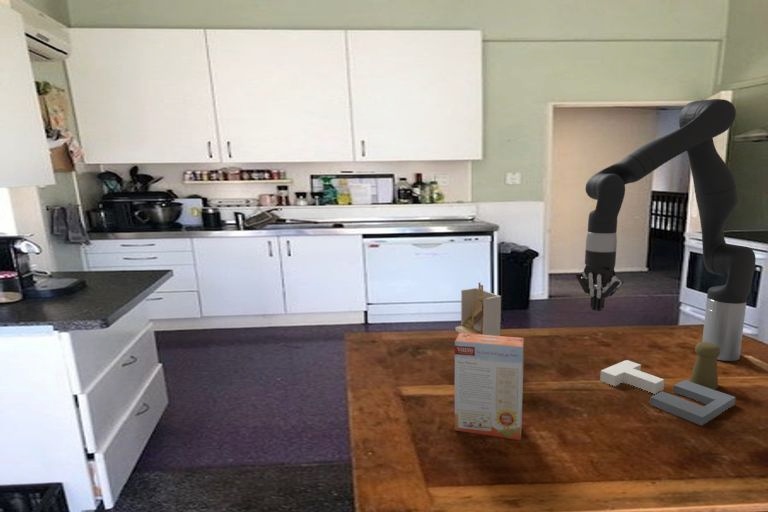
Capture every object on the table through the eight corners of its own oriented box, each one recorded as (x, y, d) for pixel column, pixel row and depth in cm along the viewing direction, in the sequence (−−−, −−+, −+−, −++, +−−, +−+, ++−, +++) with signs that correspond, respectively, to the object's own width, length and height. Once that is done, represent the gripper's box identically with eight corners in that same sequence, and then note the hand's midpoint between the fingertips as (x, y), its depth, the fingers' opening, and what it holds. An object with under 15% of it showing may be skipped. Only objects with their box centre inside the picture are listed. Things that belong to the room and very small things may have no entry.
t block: (600, 381, 120) (600, 370, 119) (625, 369, 126) (626, 359, 126) (645, 399, 110) (646, 387, 109) (671, 386, 116) (672, 375, 115)
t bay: (649, 404, 107) (650, 397, 107) (683, 387, 115) (684, 379, 115) (701, 425, 98) (702, 417, 98) (734, 404, 106) (735, 397, 106)
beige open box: (474, 355, 139) (475, 275, 135) (499, 369, 129) (501, 283, 125) (453, 360, 136) (453, 278, 131) (477, 375, 126) (478, 286, 121)
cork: (723, 390, 113) (727, 348, 111) (696, 388, 114) (700, 347, 113) (711, 379, 119) (715, 340, 117) (685, 378, 120) (689, 338, 118)
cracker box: (521, 426, 99) (525, 336, 95) (520, 442, 94) (524, 347, 90) (458, 417, 104) (459, 330, 100) (453, 431, 98) (454, 340, 94)
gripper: (633, 250, 118) (628, 313, 121) (587, 244, 129) (583, 302, 132) (616, 253, 114) (611, 318, 117) (570, 246, 125) (567, 306, 129)
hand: (596, 310), depth 125 cm, fingers closed
